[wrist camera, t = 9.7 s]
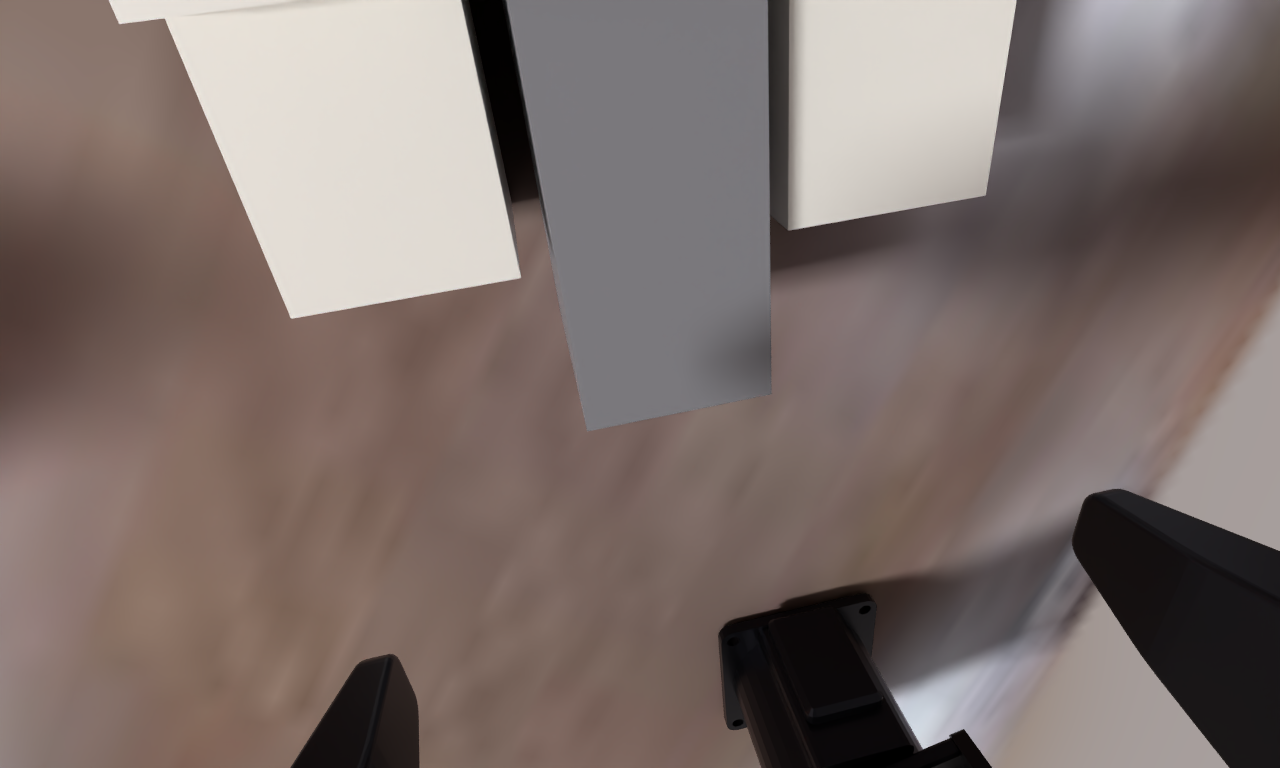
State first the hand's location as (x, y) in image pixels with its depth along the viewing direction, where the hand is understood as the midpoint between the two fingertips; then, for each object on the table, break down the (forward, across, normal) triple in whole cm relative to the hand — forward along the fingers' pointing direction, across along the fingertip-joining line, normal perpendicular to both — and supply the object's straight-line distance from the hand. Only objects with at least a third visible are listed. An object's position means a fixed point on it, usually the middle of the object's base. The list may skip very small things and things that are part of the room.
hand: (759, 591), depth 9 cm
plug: (+12, 0, -3) cm, 12 cm away
